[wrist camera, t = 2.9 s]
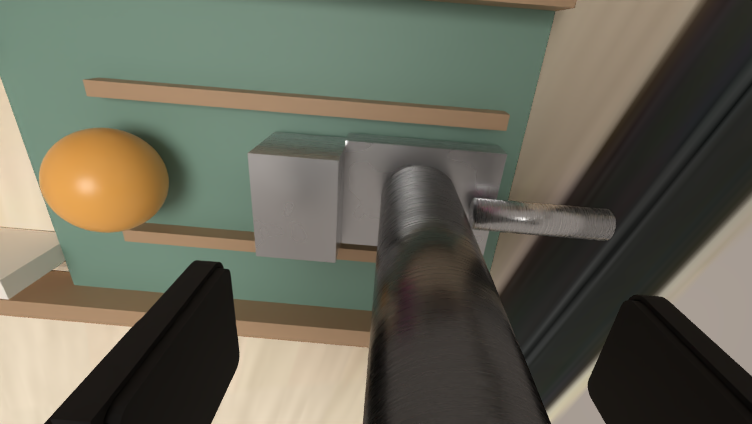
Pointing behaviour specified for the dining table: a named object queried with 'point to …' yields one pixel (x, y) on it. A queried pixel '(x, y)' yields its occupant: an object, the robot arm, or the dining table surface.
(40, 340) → the dining table surface
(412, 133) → the pitch
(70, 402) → the robot arm
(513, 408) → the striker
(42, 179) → the ball
